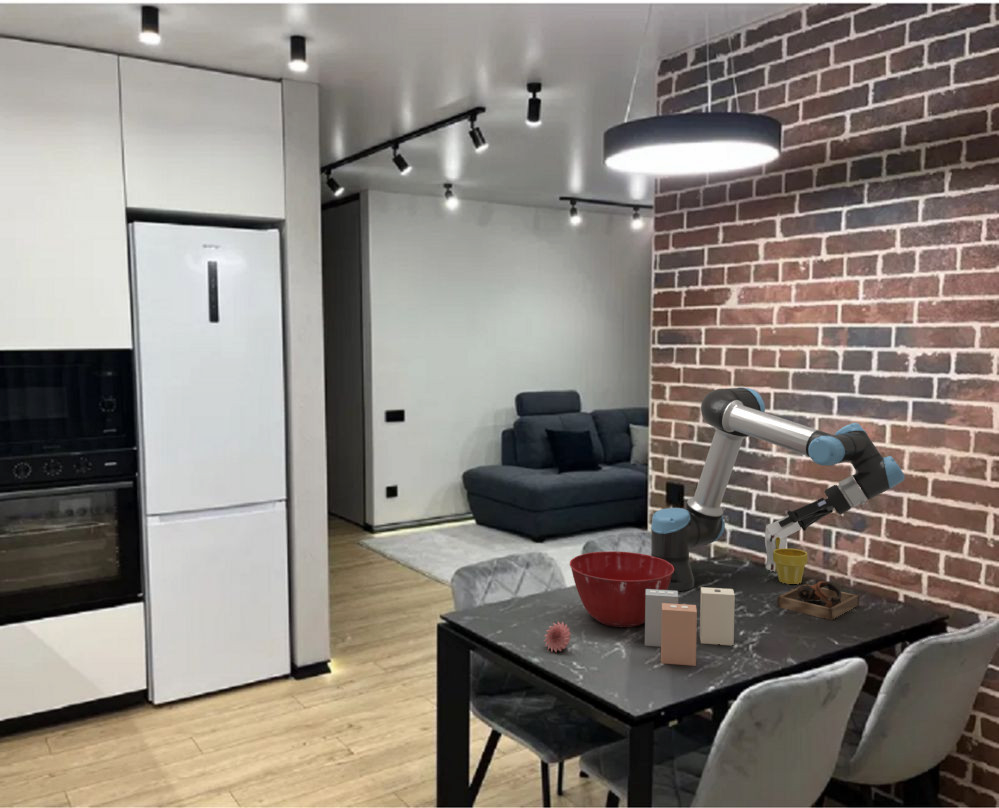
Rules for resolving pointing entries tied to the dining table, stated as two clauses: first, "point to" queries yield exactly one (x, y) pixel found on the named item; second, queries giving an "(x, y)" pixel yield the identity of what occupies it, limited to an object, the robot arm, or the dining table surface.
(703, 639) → the cream block
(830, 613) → the walnut frame
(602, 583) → the mixing bowl
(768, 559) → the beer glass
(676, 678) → the dining table surface
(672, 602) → the grey block
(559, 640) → the flower
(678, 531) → the robot arm
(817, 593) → the pottery mug
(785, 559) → the plant pot
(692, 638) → the terracotta block
